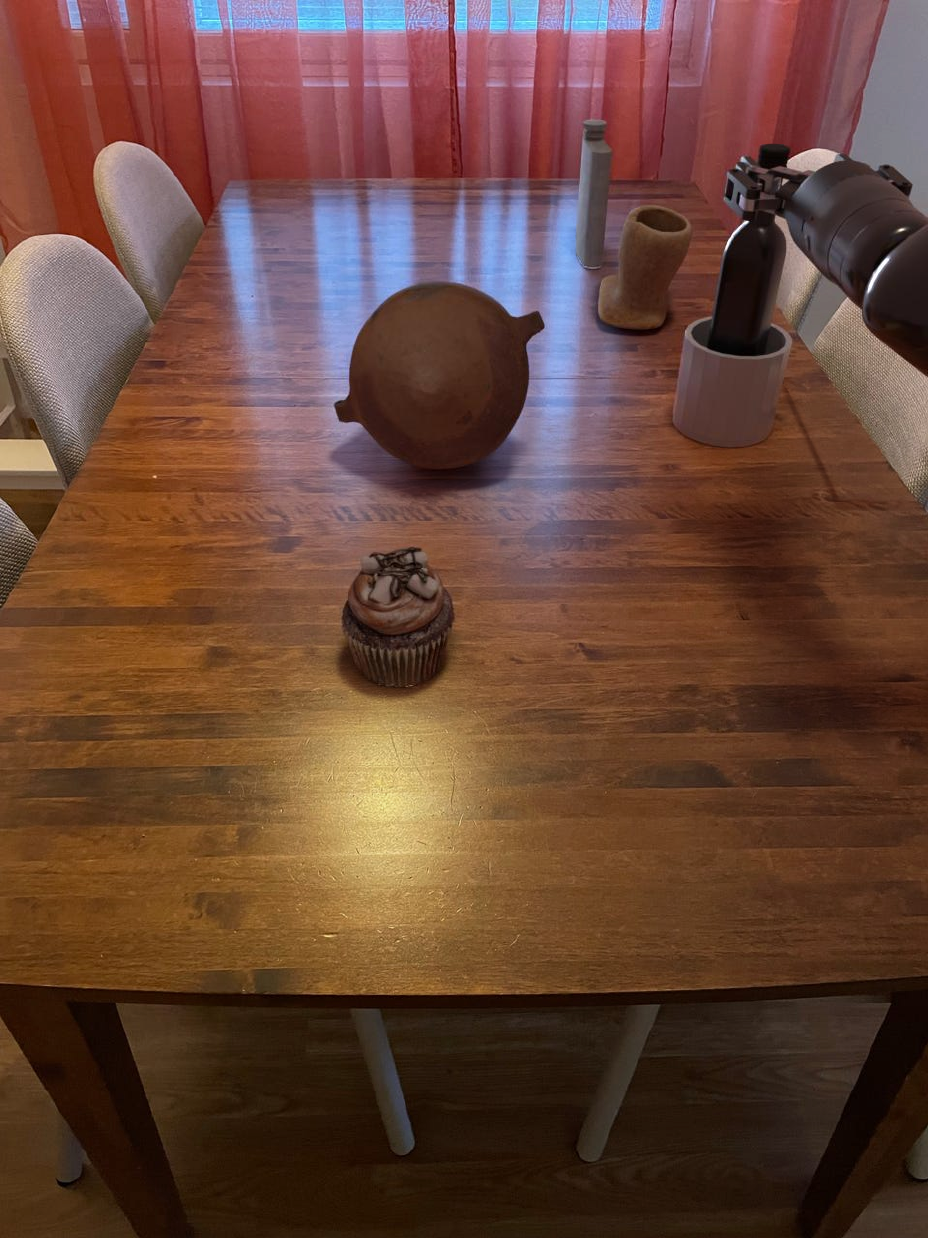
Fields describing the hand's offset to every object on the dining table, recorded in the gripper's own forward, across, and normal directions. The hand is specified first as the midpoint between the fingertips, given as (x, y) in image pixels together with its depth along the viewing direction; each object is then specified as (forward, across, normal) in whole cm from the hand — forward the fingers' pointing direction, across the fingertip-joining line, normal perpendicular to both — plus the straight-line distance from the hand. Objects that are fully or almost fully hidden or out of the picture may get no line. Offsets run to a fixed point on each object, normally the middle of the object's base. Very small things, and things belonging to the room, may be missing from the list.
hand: (789, 166), depth 85 cm
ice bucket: (+11, -2, +32) cm, 34 cm away
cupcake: (-29, +37, +32) cm, 56 cm away
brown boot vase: (+43, +2, +32) cm, 54 cm away
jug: (+11, +31, +32) cm, 46 cm away
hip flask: (+70, +6, +32) cm, 77 cm away
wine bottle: (+11, -2, +31) cm, 33 cm away
